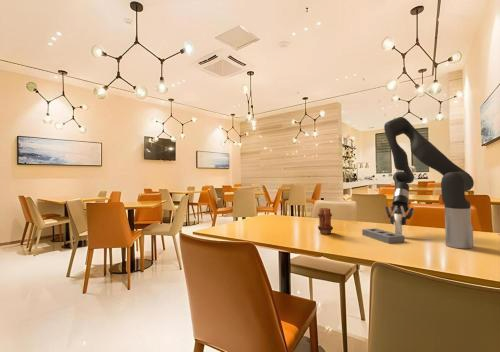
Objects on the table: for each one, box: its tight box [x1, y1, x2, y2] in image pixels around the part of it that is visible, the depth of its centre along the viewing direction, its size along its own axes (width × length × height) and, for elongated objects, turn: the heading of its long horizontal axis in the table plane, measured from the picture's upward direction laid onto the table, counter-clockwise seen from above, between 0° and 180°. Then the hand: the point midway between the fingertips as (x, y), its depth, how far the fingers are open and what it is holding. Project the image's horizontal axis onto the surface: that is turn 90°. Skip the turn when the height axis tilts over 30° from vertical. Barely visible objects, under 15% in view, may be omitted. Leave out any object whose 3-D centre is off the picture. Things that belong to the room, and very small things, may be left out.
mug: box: [317, 207, 334, 235], centre depth 152 cm, size 15×8×15 cm, turn 172°
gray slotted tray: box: [361, 227, 406, 244], centre depth 140 cm, size 9×20×3 cm, turn 13°
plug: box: [394, 208, 403, 235], centre depth 142 cm, size 3×3×15 cm
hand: (397, 223), depth 140 cm, fingers open, 4 cm apart
